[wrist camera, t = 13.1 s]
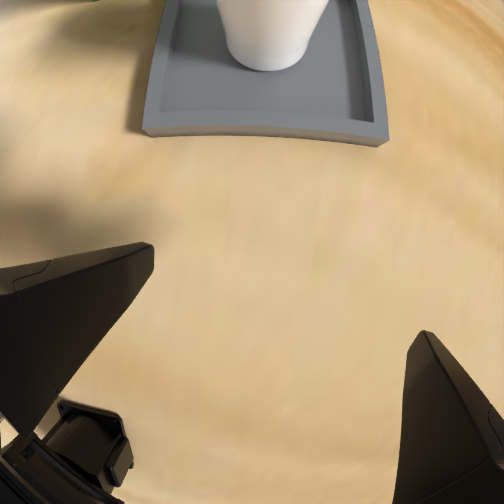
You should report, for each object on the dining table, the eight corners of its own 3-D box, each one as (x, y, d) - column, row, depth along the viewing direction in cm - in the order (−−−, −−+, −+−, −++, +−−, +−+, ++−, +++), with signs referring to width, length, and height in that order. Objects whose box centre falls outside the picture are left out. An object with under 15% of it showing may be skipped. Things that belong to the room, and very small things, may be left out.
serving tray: (151, 137, 18) (141, 128, 16) (177, -9, 16) (172, -23, 14) (376, 147, 18) (389, 140, 16) (357, 2, 17) (364, -12, 15)
